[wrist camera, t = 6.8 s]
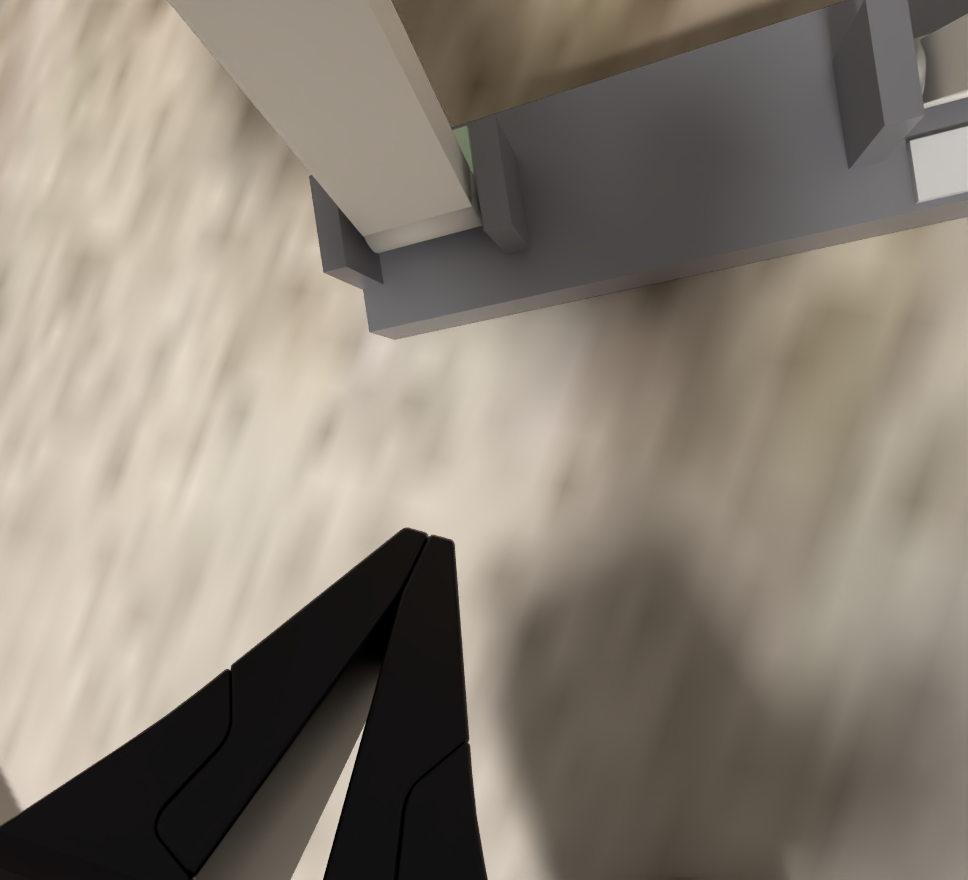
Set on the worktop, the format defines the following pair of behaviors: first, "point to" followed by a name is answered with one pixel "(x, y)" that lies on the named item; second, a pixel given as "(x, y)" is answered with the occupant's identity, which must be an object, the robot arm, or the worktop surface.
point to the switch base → (682, 171)
